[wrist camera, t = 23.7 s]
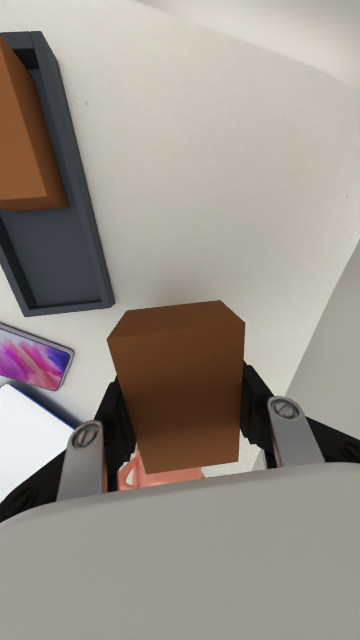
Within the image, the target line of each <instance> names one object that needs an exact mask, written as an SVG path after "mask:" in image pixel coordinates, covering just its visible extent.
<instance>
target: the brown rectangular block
mask: <svg viewBox="0 0 360 640" xmlns="http://www.w3.org/2000/svg"><path fill="white" fill-rule="evenodd" d="M68 207H69V204H68V200H67V196H66V193H65V189H64V186H63V182H62V179H61V175H60V171H59V168H58V164H57V161H56V157H55V154H54V150H53V146H52V143H51V139H50V136H49V132H48V129H47V125H46V121H45V118H44V114H43V111H42V107H41V104H40V100H39V96H38V93H37V89H36V86H35V82H34V79H33V77H32V76H31V74H30V73H29V72H28V70H27V69H26V68H25V66H24V65H23V64H22V62H21V61H20V60H19V58H18V57H17V55H16V54H15V53H14V51H13V50H12V49H11V47H10V46H9V45H8V43H7V42H6V41H5V39H4V38H3V37H2V35H1V34H0V208H1V209H4V210H8V211H11V212H20V211H32V210H44V209H56V208H68Z"/></svg>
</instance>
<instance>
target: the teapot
mask: <svg viewBox="0 0 360 640" xmlns="http://www.w3.org/2000/svg"><path fill="white" fill-rule="evenodd" d="M133 467H134V469H133V483H132V485H129V484H127V483H126V478H127V476H128V474H129V473H130V471H131V469H132V468H133ZM119 475H120V488H121V490H128V489H135V488H141V487H148V486H155V485H161V484H168V483H175V482H182V481H189V480H196V479H203V478H205V476H204V475H203V474H202V472H201V467H197V468H190V469H183V470H175V471H168V472H161V473H154V474H146V473H145V469H144V466H143V462H142V459H141V456H140V452H139V449H138V450H137V453H136V457H134V458H133V459H132V460H131V461H130V462H129V463H127V464H126V465H125V466H124V467H123V468H122V469H121V470H120V472H119Z"/></svg>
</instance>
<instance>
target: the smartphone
mask: <svg viewBox="0 0 360 640" xmlns="http://www.w3.org/2000/svg"><path fill="white" fill-rule="evenodd" d="M73 355H74V353H73V352H72V351H71V350H70V349H67V348H64V347H62V346H59V345H56V344H54V343H51V342H48V341H45V340H43V339H40V338H37V337H35V336H32V335H29V334H27V333H24V332H21V331H18V330H16V329H13V328H10V327H8V326H5V325H2V324H0V375H1V376H4V377H7V378H11V379H14V380H17V381H20V382H24V383H27V384H30V385H34V386H37V387H40V388H43V389H47V390H50V391H58V390H59V389H60V388H61V386H62V383H63V381H64V378H65V376H66V373H67V371H68V368H69V366H70V363H71V361H72V358H73Z"/></svg>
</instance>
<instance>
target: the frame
mask: <svg viewBox="0 0 360 640" xmlns="http://www.w3.org/2000/svg"><path fill="white" fill-rule="evenodd" d="M0 34H1V35H2V37H3V38H4V39H5V41H6V42H7V43H8V45H9V46H10V47H11V49H12V50H13V51H14V53H15V54H16V55H17V57H18V58H19V60H20V61H21V62H22V64H23V65H24V66H25V68H26V69H27V70H28V72H29V73H30V74H31V76H32V77H33V79H34V82H35V86H36V89H37V93H38V96H39V100H40V104H41V107H42V111H43V114H44V118H45V121H46V125H47V129H48V132H49V136H50V139H51V143H52V146H53V150H54V154H55V157H56V161H57V164H58V168H59V171H60V175H61V179H62V182H63V186H64V189H65V193H66V196H67V200H68V204H69V207H68V208H56V209H44V210H32V211H20V212H11V211H8V210H4V209H1V208H0V264H1V267H2V269H3V271H4V273H5V275H6V278H7V280H8V282H9V284H10V286H11V289H12V291H13V293H14V295H15V297H16V300H17V302H18V304H19V306H20V308H21V311H22V313H23V315H24V317H31V316H41V315H50V314H59V313H68V312H77V311H87V310H96V309H104V308H111V307H112V306H113V305H114V304H115V300H114V296H113V292H112V288H111V284H110V279H109V275H108V271H107V267H106V263H105V258H104V254H103V250H102V246H101V242H100V237H99V233H98V229H97V225H96V221H95V217H94V212H93V208H92V204H91V200H90V196H89V191H88V187H87V183H86V179H85V175H84V170H83V166H82V162H81V158H80V154H79V149H78V145H77V141H76V137H75V133H74V129H73V124H72V120H71V116H70V112H69V108H68V103H67V99H66V95H65V91H64V87H63V82H62V78H61V74H60V70H59V66H58V61H57V59H56V57H55V56H54V54H53V52H52V50H51V48H50V47H49V45H48V43H47V41H46V39H45V38H44V36H43V34H42V32H41V31H30V32H29V31H27V32H3V33H0Z"/></svg>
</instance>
